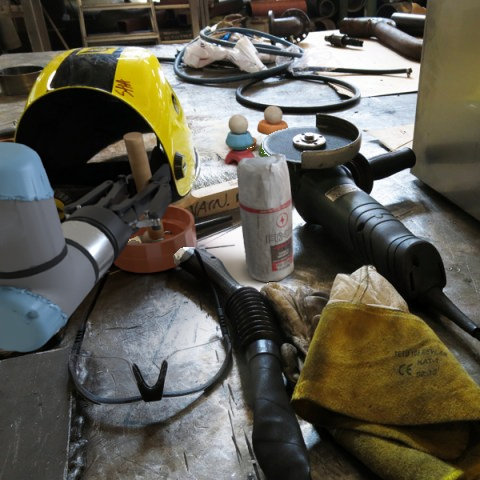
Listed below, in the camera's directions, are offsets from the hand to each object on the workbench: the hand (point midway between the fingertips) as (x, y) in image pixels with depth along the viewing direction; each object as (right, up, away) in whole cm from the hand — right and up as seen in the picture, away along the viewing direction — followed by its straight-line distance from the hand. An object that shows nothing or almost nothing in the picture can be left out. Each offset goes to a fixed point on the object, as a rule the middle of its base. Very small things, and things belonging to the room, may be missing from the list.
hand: (157, 171), depth 78 cm
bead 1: (-5, -13, +2) cm, 14 cm away
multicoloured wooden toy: (+8, +10, +46) cm, 48 cm away
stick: (-1, -11, +1) cm, 11 cm away
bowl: (-2, -14, +5) cm, 15 cm away
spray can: (+18, -16, +2) cm, 25 cm away
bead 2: (-3, -11, +5) cm, 12 cm away
